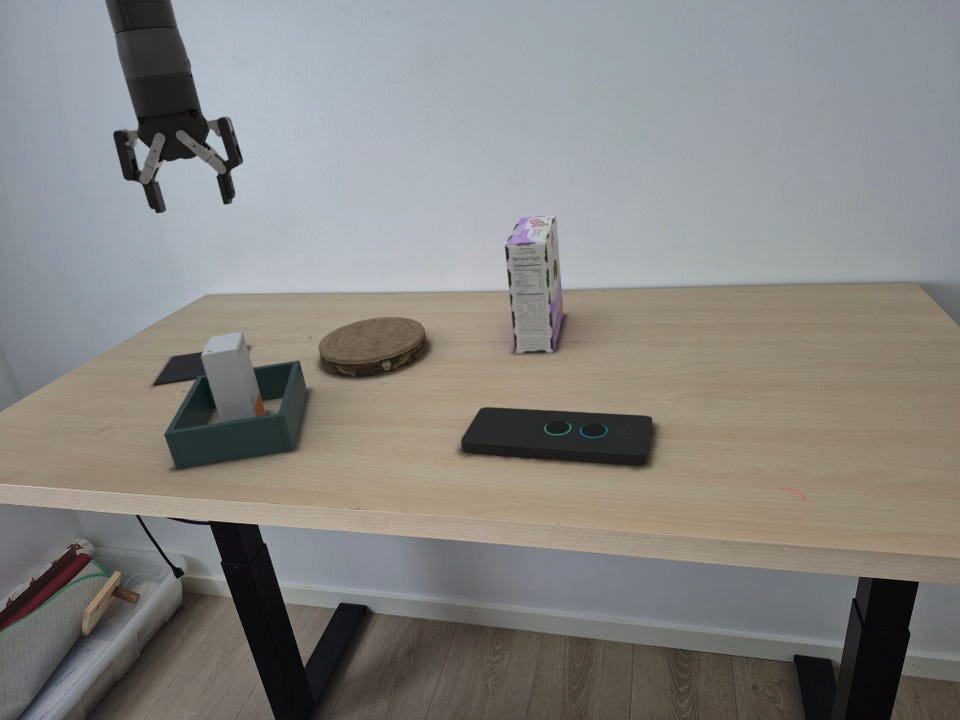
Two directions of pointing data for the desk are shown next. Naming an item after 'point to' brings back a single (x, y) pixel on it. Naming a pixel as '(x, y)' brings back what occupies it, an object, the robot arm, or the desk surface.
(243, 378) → the cosmetic box
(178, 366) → the desk pad
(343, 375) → the brown flat disc
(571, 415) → the smart home device
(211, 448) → the storage box
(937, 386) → the desk surface
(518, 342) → the candy box
